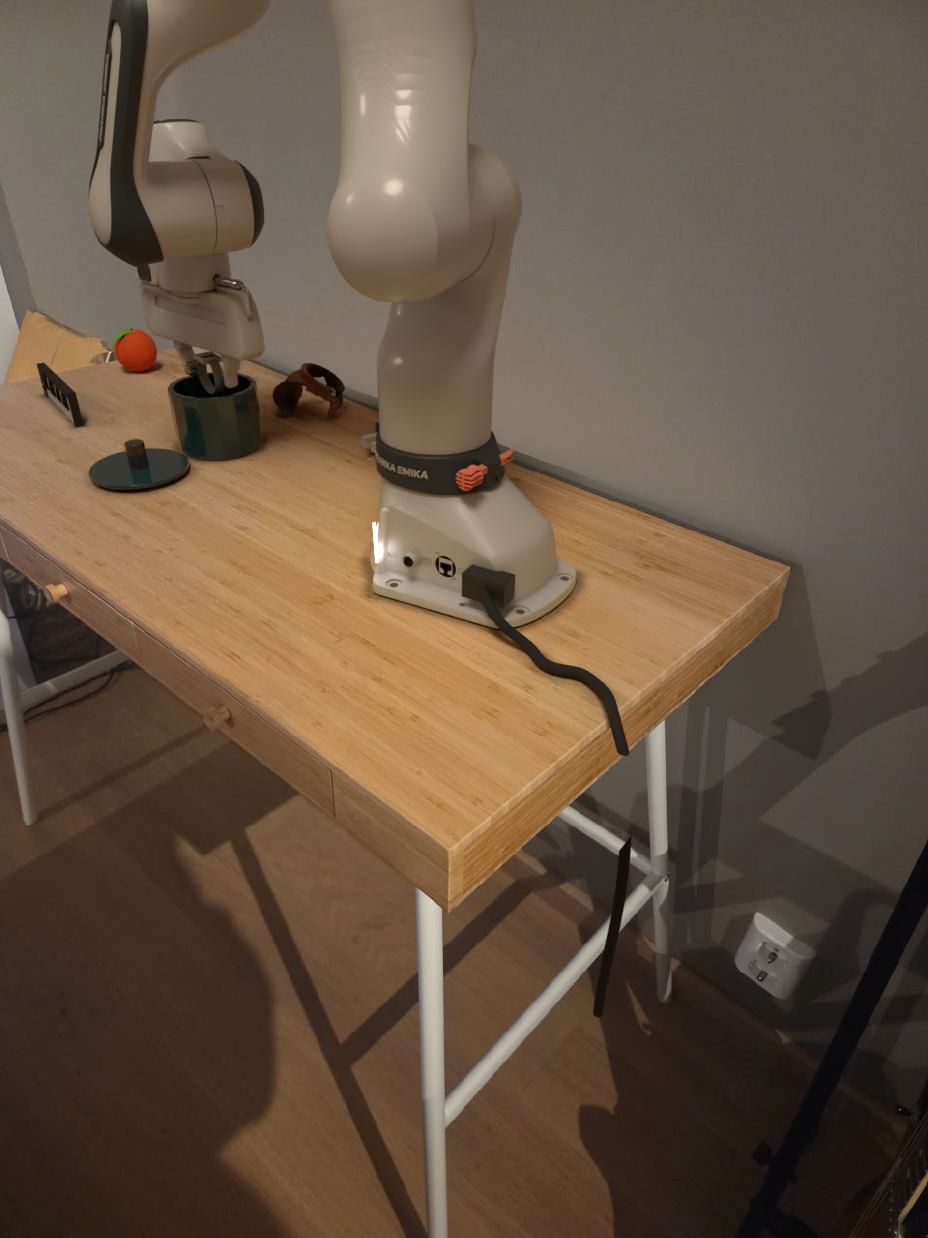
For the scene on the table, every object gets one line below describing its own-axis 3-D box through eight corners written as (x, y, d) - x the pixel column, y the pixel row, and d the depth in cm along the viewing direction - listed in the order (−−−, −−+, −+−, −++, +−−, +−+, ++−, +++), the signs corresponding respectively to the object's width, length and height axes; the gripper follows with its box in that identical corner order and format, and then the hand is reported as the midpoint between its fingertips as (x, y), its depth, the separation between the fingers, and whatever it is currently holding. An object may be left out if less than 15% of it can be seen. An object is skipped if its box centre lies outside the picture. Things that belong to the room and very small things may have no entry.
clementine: (132, 380, 139) (123, 337, 135) (104, 373, 142) (95, 331, 138) (169, 368, 145) (161, 326, 141) (141, 362, 148) (133, 321, 144)
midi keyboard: (44, 394, 133) (35, 363, 130) (52, 393, 133) (44, 362, 130) (74, 427, 121) (66, 393, 118) (84, 425, 122) (75, 392, 119)
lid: (208, 471, 108) (203, 440, 106) (126, 502, 100) (118, 469, 98) (153, 448, 115) (147, 418, 112) (71, 476, 107) (62, 444, 104)
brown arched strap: (297, 401, 133) (320, 357, 129) (338, 438, 131) (362, 394, 127) (246, 403, 123) (269, 355, 119) (290, 443, 121) (315, 396, 117)
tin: (280, 442, 117) (273, 383, 112) (214, 467, 109) (204, 405, 105) (228, 424, 123) (219, 366, 118) (162, 446, 115) (150, 386, 111)
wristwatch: (194, 388, 113) (188, 351, 110) (213, 384, 115) (207, 348, 112) (212, 400, 109) (206, 362, 106) (232, 396, 111) (227, 359, 108)
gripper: (269, 277, 100) (281, 390, 108) (166, 256, 111) (184, 360, 118) (227, 286, 96) (243, 403, 104) (124, 263, 106) (146, 370, 114)
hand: (211, 380), depth 111 cm, fingers closed on wristwatch, 6 cm apart
